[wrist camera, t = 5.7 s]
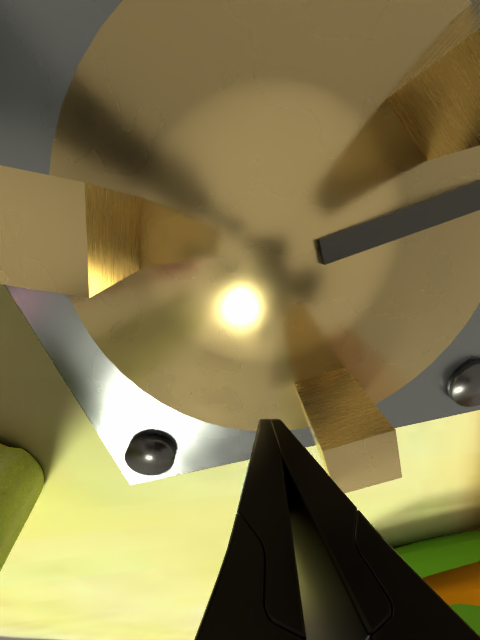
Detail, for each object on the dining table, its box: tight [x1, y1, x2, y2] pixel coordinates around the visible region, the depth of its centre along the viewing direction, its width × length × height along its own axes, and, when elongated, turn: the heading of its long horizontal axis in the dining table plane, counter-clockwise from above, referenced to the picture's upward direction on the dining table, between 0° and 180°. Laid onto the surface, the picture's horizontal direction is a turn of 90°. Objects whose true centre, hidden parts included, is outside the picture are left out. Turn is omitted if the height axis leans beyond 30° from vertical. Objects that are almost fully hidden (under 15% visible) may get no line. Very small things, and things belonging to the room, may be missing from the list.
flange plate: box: [0, 0, 480, 485], centre depth 9 cm, size 20×20×2 cm
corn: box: [394, 530, 480, 636], centre depth 16 cm, size 7×8×20 cm
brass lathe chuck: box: [0, 0, 480, 493], centre depth 7 cm, size 14×14×4 cm
